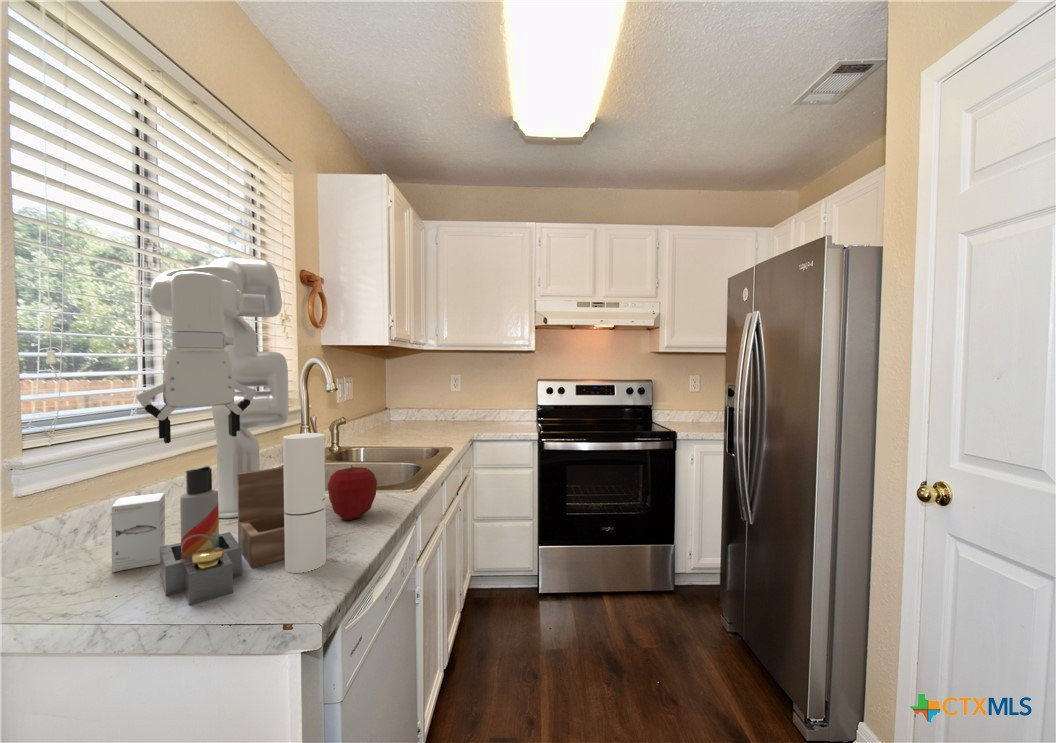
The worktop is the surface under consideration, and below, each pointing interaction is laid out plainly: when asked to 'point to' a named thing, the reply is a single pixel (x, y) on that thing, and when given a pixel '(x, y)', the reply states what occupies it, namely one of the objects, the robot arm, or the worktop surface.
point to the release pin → (207, 557)
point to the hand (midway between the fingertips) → (201, 438)
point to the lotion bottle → (199, 513)
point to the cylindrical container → (304, 502)
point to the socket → (200, 571)
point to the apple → (352, 492)
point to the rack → (261, 516)
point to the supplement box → (137, 531)
